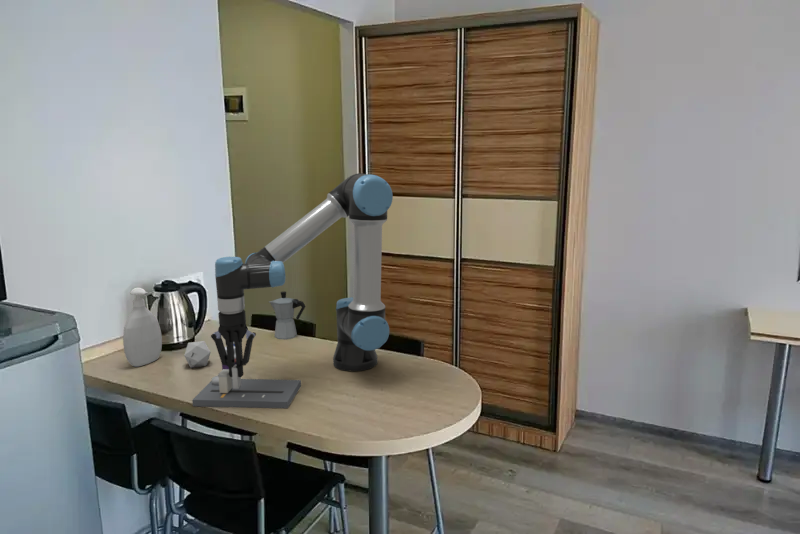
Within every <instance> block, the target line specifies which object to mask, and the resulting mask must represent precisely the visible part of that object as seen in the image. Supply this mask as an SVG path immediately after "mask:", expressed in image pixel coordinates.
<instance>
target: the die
mask: <svg viewBox="0 0 800 534" xmlns="http://www.w3.org/2000/svg"><path fill="white" fill-rule="evenodd" d="M210 355H211V350H210V348H209V347H208V345H207V343H206V341H205V340H200V341H193V342H192V341H191V342H188V343H187V345H186V348H185V352H184V355H183V356H184V357H185V360H186V362H187V364H188V365H189V367H190V369H191V368H199V367H206V366H207V365H208V362H209V359H210Z"/></svg>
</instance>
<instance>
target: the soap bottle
mask: <svg viewBox="0 0 800 534" xmlns="http://www.w3.org/2000/svg"><path fill="white" fill-rule="evenodd" d="M129 294H130V295H132V296H136V298H134V299H133V300H132V304H133V305H132V306H133V308H132V309H131V312H130V313H129V314H128V316H127V318H126V322H125V324H124V327H123V336H122V337H123V339H122V341H123V342H122V344H123V352H124V355H125V359H126V360H127V362H128V363H129V365H130V366H132V367H136V368H137V367H142V366H146V365H149V364H151V363H153V362H156V361H157V360H158V359H159V358H160V355H161V351H162V346H163V338H162V331H161V327H160V324H159V320H158V318H157V317H156V316H155V314H154V313H153V312H152V311H150V310H149V309H148V308H147V307H146V301H145V299H144V298H143V297H141V295H142V296H145V295H148V294H149V291H146V290H145V289H144V288H142V287H135V288H132V289H131V291H130V292H129Z"/></svg>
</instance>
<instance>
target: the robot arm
mask: <svg viewBox="0 0 800 534" xmlns="http://www.w3.org/2000/svg"><path fill="white" fill-rule="evenodd" d="M393 194H394V193H393V191H392V187H391V185H390V184H389V183H388V181H386V180H385V179H384V178H382V177H381V176H378V175H377V174H366V173H363V172H362V173H361V172H360V173H355V174H352V175H350V176H348V177H346V178H345V179H343V181H342V182H340V183H339V184H338V185H337V186H336V187H334V188H333V189H332V190H331V191H329V192H328V193H327V194H326V199H324V200H323V201H322V202H320V204H318V205H316V207H314V208H313V209H311V210H310V211H309V212H308V213H306V214H305V215H304V216H302V217H301V218H300V219H299V220H297V221H296V222H295V223H293V224H292V225H291V226H289V227H288V228H287V229H286V230H284V231H283V232H282V233H281V234H279V235H278V236H277V237H275V238H274V239H272V241H270V242H269V243H267V244H266V245H265V246H264V247H263V248H260V250H258V251H257V252H253V253H250V254H249V255H248V256H247V257H246V258H245V262H243V260H242V258H241V257H240V256H225V257H219V258H217V259H216V260H215V262H214V263H215V264H214V268H215V269H214V270H215V271H214V273H215V274H214V276H215V285H216V286H215V287H216V296H217V299H216V300H217V301H216V302H217V311H219V312H218V314H217V315H218V324H219V327H218V329H217V331H214V332H213V333H212V334H210V337H211V339H212V340H213V342H214V343H215V347H216V350H217V353H218V356H219V360H220V362H221V366H222V365H227V366H228V367H229V376H230V377H232V379H233V389H238V388H239V387H240V386H241V379H242V378H243V376H244V366H246V365H247V364H248V363H249V362H250V358H251V353H252V347H253V342H254V341H253V340H254V339H255V337H256V335H257V333H256V332H252V331H250V330H249V329H248V326H247V319H246V318H247V316H246V310H245V307H246V306H245V293H244V292H245V290H250V289H252V290H253V289H254V290H255V289H264V288H265V289H266V288H275V287H276V288H277V287H281V286H283V285H285V283H286V269H285V264H284V263H285V262H286V261H287V260H289V259H290V258H291V257H292V256H293V255H295V254H296V253H298V252H299V251H300V250H302V249H303V248H304V247H305V246H306V245H308V244H309V243H311V241H313V240H314V239H316V238H317V237H318V236H319V235H321V234H323V232H324V231H326V230H327V229H329V228H330V227H331V226H333V225H334V223H336V222H337V221H339V220H340V219H341V218H343V219H344V218H345V219H347V218H348V219H349V220H350V222H352V223H353V286H352V288H353V289H352V290H353V292H352V293H353V294H352V296H353V297H352V296H351V297H345V298H340V299H338V300H337V301H336V308H335V313H336V333H337V335H336V336H337V344H336V347H335V351H334V354H333V358H332V361H333V363H332V364H333V367H335V368H336V369H338V370H341V371H345V372H359V371H361V372H362V371H366V370H369V369H373V368H374V367H376V365H378V355H377V352H376V350H378V349H380V348H381V347H382V346H383V345H384V344H385V343H386V342H387V341H388V339H389V335H390V325H389V323H388V321H387V320H386V305H385V303H383V302H382V299H381V297H382V296H381V295H382V292H381V291H382V289H381V288H382V250H383V249H382V247H383V246H382V245H383V243H382V242H383V239H382V238H383V225H384V224H385V223H386V222H387V221H388V210H390V208H391V206H392V203H393V200H394V199H393V197H394V196H393ZM244 337H245V338H246V341H245V345H244V346H245V347H244V352H243V338H244ZM222 338H223V339H224V340H223V339H222ZM224 341H225V343H224ZM233 342H234V345H235V352H236V364H235V359H234V345H233ZM225 345H226V346H227V353H226V350H225V347H226V346H225ZM234 364H235V365H234ZM241 377H242V378H241Z"/></svg>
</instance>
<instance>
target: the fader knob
mask: <svg viewBox="0 0 800 534" xmlns="http://www.w3.org/2000/svg"><path fill="white" fill-rule="evenodd" d="M217 376H218V377H219V390H220V393H228V392H229V391H230V390H231V389H232V379H233V378H232V377H230V376H229V369H223V370H221V371H219V373H218V374H217Z"/></svg>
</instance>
